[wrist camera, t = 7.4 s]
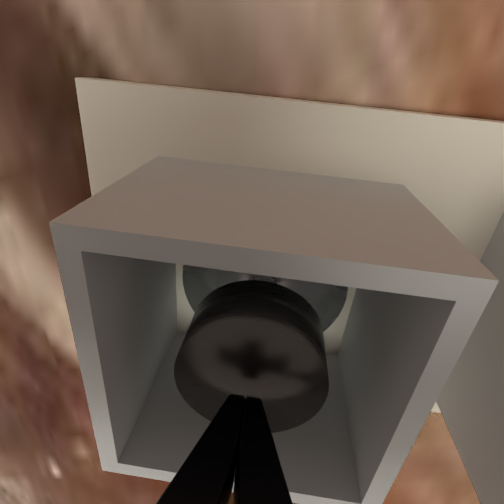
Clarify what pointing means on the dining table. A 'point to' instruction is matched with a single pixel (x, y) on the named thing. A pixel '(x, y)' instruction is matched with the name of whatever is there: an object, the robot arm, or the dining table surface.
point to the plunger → (256, 343)
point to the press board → (292, 272)
